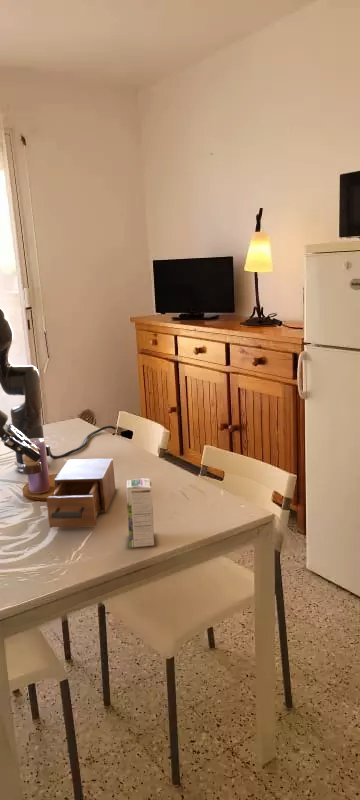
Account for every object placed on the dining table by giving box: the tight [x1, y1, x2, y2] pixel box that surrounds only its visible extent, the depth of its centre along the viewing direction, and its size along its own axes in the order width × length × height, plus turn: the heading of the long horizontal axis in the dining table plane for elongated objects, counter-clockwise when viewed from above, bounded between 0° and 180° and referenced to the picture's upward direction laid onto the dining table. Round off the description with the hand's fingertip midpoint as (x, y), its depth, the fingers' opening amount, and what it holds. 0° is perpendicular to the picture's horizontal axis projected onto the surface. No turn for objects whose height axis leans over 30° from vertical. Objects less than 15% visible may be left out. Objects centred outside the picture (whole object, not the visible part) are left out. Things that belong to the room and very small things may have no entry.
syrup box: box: [126, 478, 155, 549], centre depth 141 cm, size 6×6×14 cm
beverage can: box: [26, 438, 51, 495], centre depth 175 cm, size 6×6×15 cm
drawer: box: [46, 481, 102, 528], centre depth 154 cm, size 19×11×8 cm, turn 176°
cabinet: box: [53, 457, 116, 514], centre depth 166 cm, size 16×13×10 cm
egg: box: [22, 444, 42, 476], centre depth 161 cm, size 5×5×7 cm
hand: (38, 455), depth 161 cm, fingers closed on egg, 4 cm apart
